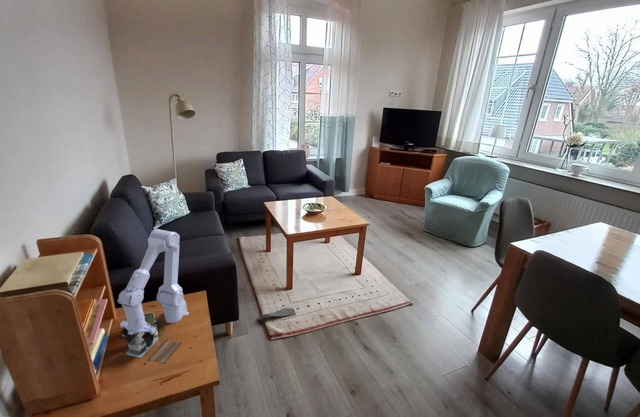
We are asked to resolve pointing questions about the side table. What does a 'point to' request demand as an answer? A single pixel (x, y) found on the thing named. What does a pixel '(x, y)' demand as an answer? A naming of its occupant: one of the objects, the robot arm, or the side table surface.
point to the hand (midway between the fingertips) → (141, 343)
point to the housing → (138, 344)
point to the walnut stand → (164, 351)
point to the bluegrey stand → (143, 351)
